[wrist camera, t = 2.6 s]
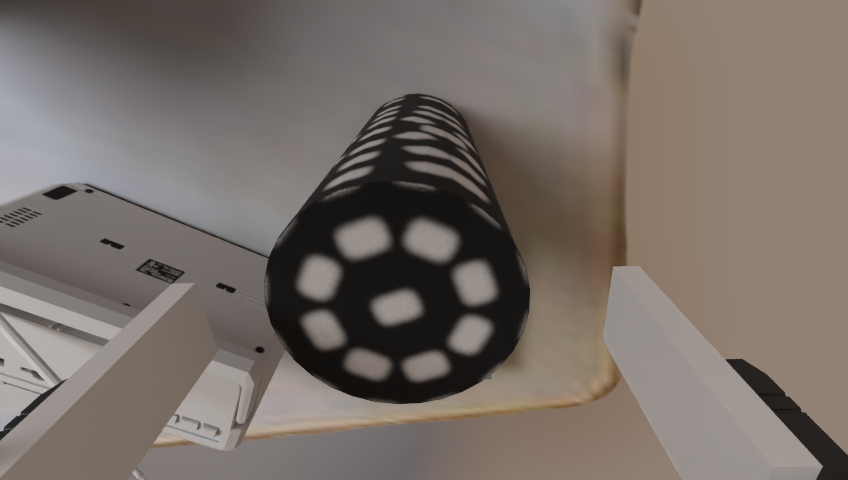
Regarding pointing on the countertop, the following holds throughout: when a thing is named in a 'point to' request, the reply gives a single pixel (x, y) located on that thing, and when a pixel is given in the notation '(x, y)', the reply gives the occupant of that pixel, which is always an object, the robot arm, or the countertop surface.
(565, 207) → the countertop surface
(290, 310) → the spotted tube
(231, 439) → the stereo radio cassette player
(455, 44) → the countertop surface
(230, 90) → the countertop surface
